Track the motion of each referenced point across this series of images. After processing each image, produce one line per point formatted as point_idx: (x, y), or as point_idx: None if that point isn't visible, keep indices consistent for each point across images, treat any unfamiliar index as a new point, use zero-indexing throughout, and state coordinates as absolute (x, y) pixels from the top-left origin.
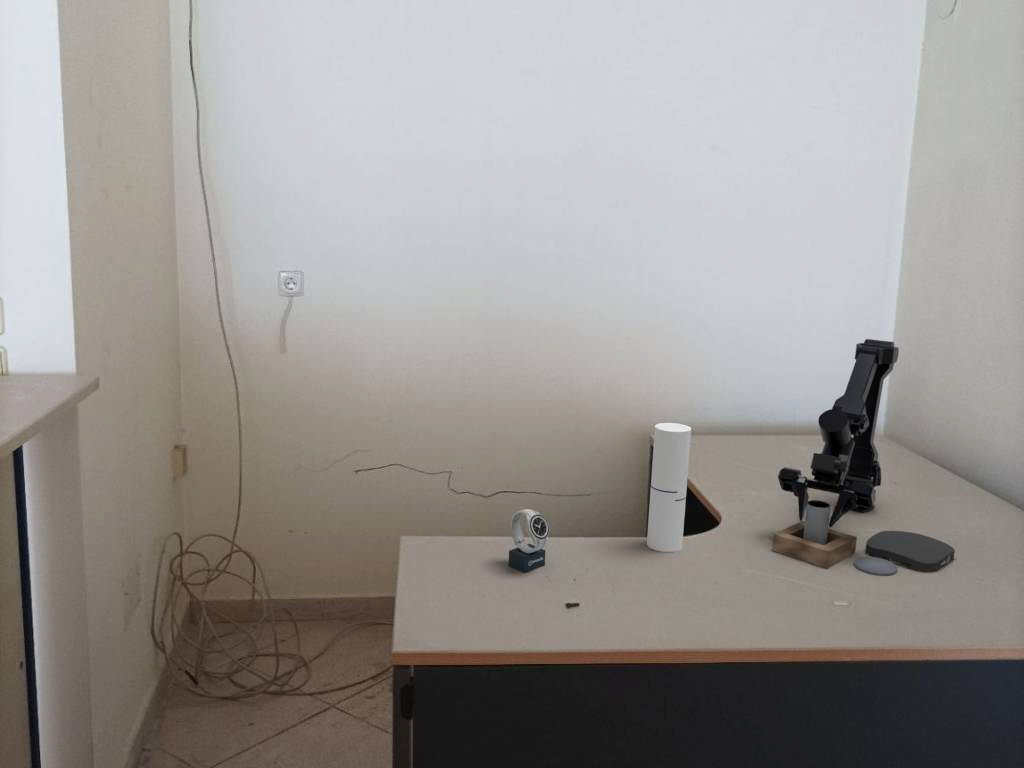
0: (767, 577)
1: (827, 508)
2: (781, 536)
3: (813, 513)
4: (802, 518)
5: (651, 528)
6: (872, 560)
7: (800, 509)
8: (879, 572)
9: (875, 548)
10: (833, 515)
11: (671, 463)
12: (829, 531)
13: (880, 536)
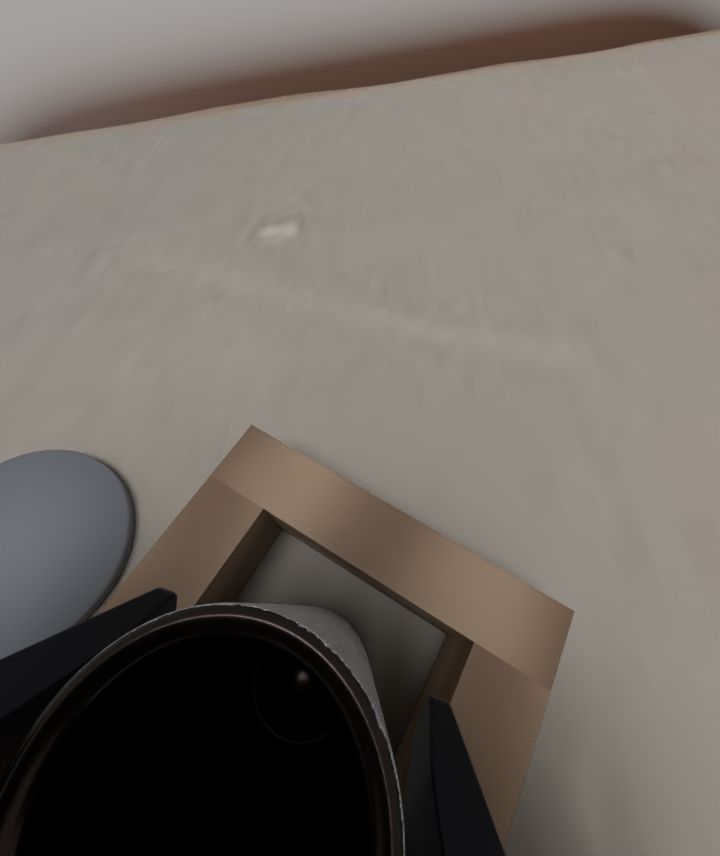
0: (492, 321)
1: (97, 655)
2: (518, 579)
3: (311, 618)
4: (412, 756)
5: None
6: (7, 598)
7: (470, 816)
8: (50, 450)
9: None
10: (67, 655)
11: None
12: None
13: None
